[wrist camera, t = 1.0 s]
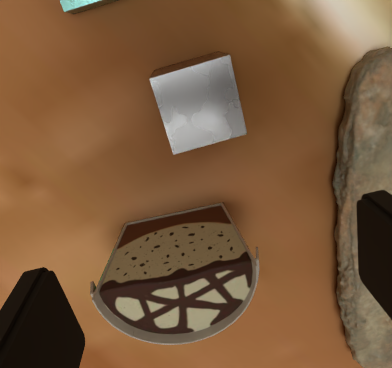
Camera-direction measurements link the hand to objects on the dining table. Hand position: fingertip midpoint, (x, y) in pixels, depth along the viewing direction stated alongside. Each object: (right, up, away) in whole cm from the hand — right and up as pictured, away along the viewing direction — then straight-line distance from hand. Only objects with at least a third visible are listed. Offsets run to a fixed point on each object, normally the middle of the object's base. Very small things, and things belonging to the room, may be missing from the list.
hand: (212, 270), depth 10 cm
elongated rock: (+18, -2, +24) cm, 30 cm away
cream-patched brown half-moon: (-2, -3, +23) cm, 23 cm away
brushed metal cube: (-1, +10, +17) cm, 20 cm away
